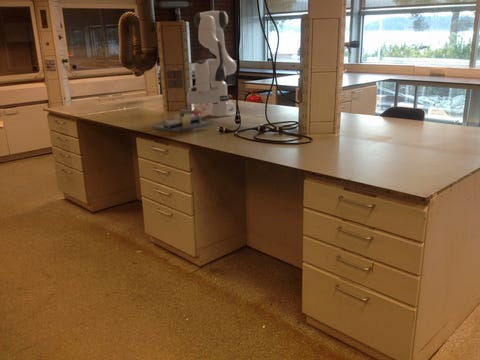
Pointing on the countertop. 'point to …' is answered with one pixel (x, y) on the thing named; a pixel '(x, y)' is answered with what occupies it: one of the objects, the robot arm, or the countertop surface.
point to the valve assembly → (182, 123)
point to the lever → (189, 112)
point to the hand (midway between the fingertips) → (204, 110)
